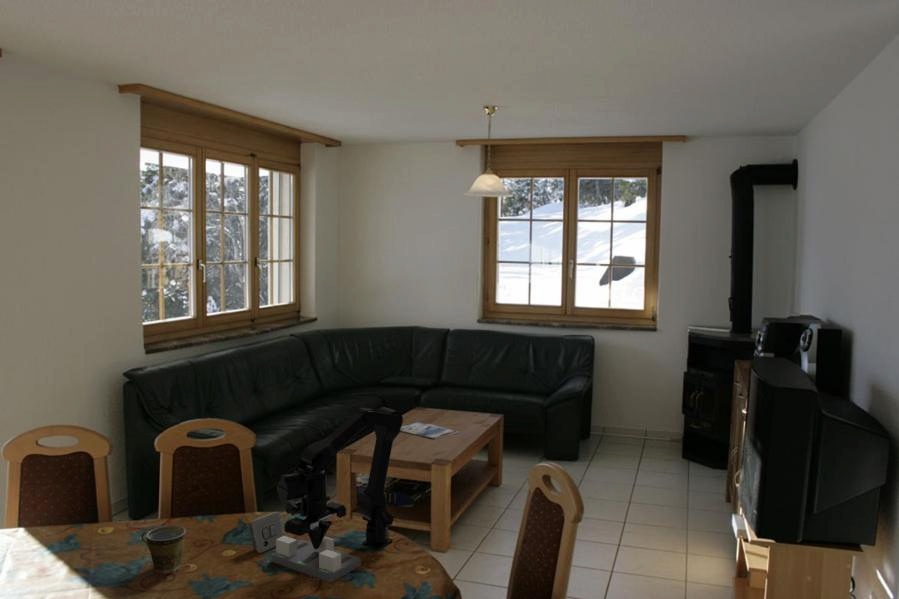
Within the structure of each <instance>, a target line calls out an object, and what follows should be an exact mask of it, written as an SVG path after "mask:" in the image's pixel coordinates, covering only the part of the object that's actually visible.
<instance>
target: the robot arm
mask: <svg viewBox="0 0 899 599" xmlns="http://www.w3.org/2000/svg"><path fill="white" fill-rule="evenodd" d="M403 423H404V417H403V414H402V413H401V412H400V411H397V410H394V409H392V408H388V407H385V406H384V407H383V406H382V407H380V408H378V409H375V408H365V407H359V408H357V410H355V413H354V414H353V415H351V416H350V417H349V418H347V419H346V420H345V421H344V422H343V423H342V424H341V425H339V426H338V427H337V428H336V429H335V430H333V431H332V433H330V434H329V435H328V436H327V437H324V439H321V440H318V441H315V442H313V443H312V444H310V445H308V446H307V447H305V448H304V450H302V455H301V457H300V459H299V460H298V463H297V464H296V466H295V467H294V469H293V473H290V474H282V475H281V476H280V480H279V481H278V483H277V486H276V490H277V496H278V497H279V499H280V501H281V502H282V503H284V502H285V512H286V514H287V515H291V516H295V515H299V516H300V517H305V518H300V517H297V516H296V517H294V518H291V519H288V520H287V521H285V522H284V528H283V529H284V532H285V533H288V534H291V535H294V536H298V537H301V536H304V535H306V534H307V535H308V536H309V539H310V542H312V545H313V547H314V549H318V548H319V546H320V544H321V542H322V540H323V538H324V536H326V535H327V532H328V530H329V529H330V527H331V525H333V521H330V520H329V517H330V516H333V515H335V514H336V517H337V518H338V519H341V518H343V517H346V516H347V508H346V506H345V505H344V504H341V503H337V502H334V501H331V502H329V503H327V502H328V501H330V500H331V496H329V495H328V491H327V488H328V487H327V486H328V485H327V481H328V480H327V479H328V478H327V477H330V476H334V474H335V473H334V472H333V471H332V470H331V469H330V468H329V466H330V465H331V464H332V463H333V461H335V459H336V456H337V454H338V452H339V451H340V450H342V449H343V447H344V446H345V445H346V444H348V443H349V442H350V441H351V440H353V438H354V437H356V436H357V435H358V434H359V433H360V432H361V431H362V430H364V429H365V428H366V427H367V426H368V425H373V429H374V435H375V443H374V450H373V454H372V459H371V465H370V471H369V476H368V482H367V486H366V488H365V489H364V490H363V492H362V491H359V492H358V494H357V500H356V503H355V506H356V510H357V513H358V514H359V515H360V516H361V518H362V520H363V521H366V522H367V523H366V528H365V529H366V530H365V539H364V540H363V541H361V542H362V543H361V544H362V545H365V546H369V547H373V548H376V549H382V548H383V547H385V546H386V545H389V544H390V543H392V542H393V538H390V537H389V526H391V525H393V523H394V519H395V517H394V516H393V515H392V514H391V513H390V512H389V511H388V510H387V504H388V502H387V497H386V493H385V488H386V487H385V486H386V480H387V474H388V470H389V465H390V460H391V454H392V449H393V443H394V441H395V439H396V438H397V437H398V436H399V435H400V433H401V429H402V425H403ZM306 467H308V468H309V469H308V468H306ZM310 469H311V470H310ZM300 498H301V499H300ZM296 499H299V500H296ZM295 500H296V501H295Z"/></svg>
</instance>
